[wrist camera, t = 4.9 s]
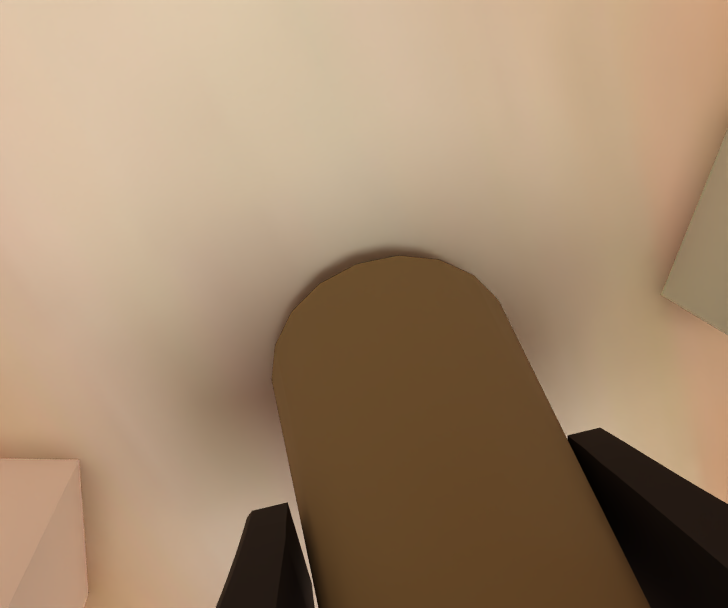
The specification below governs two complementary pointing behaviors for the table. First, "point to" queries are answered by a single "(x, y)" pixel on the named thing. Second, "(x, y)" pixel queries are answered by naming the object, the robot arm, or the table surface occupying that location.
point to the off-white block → (42, 534)
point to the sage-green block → (705, 252)
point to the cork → (433, 452)
